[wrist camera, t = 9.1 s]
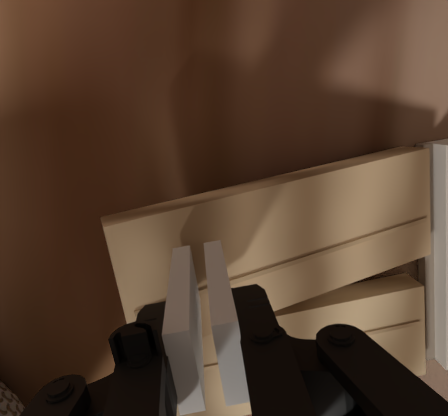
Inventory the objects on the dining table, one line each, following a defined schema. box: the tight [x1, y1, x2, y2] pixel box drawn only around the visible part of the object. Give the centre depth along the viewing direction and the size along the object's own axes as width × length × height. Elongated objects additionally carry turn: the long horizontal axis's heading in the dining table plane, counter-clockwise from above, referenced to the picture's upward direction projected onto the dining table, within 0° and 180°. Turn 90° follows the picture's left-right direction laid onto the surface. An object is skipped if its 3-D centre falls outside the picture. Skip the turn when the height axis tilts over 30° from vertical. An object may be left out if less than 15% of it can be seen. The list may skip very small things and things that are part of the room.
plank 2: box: [177, 273, 426, 416], centre depth 24 cm, size 18×6×2 cm, turn 98°
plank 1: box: [100, 146, 431, 338], centre depth 20 cm, size 18×6×2 cm, turn 97°
